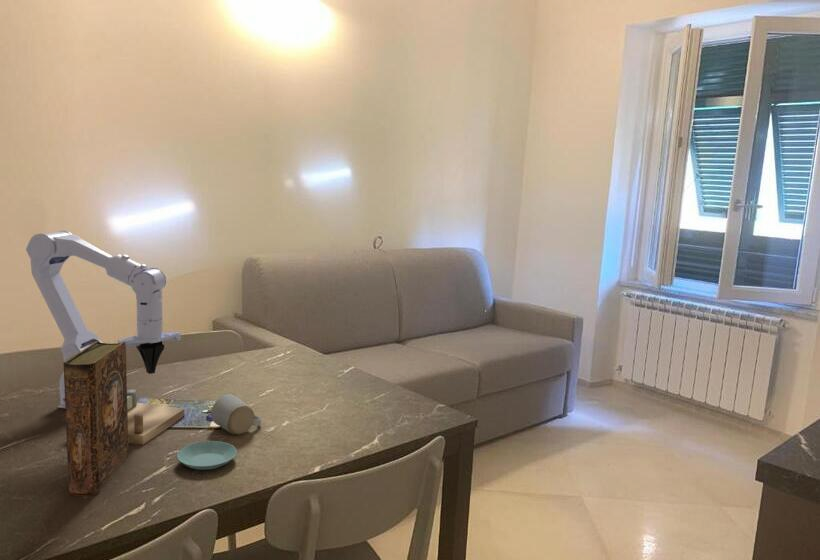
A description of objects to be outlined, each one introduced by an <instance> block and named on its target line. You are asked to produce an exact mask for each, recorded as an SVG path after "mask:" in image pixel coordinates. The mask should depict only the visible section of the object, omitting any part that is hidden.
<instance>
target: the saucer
mask: <svg viewBox="0 0 820 560" xmlns="http://www.w3.org/2000/svg"><path fill="white" fill-rule="evenodd" d="M237 453H238V450H237V448H236V447H235V446H234V445H233V444H231V443H228V442H223V441H217V440H216V441H215V440H208V441H207V440H206V441H198V442H193V443H191V444H188V445H186V446H184V447H181V449H180V450H179V451H178V452H177V454H176V458H177V460H178V461H179V462H180V463H182V464H183V465H184V466H186V467H188V468H191V469H194V470H198V471H209V470H216V469H217V468H220V467H223V466H224V465H227V464H228V463H229V462H231V461H232V460H233V459H234V458H235V457H236V456H237Z"/></svg>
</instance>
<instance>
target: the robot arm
mask: <svg viewBox="0 0 820 560" xmlns="http://www.w3.org/2000/svg"><path fill="white" fill-rule="evenodd" d="M25 251H26V253H27V255H28V257H29V258H30V268H31V269H30V270H31V275H32V277H33V279H34V281H35V283H36V285H37V288H38V289H39V291H40V293H41V295H42V298H43V299H44V300H45V304H46V305H47V307H48V310H49V311H50V313H51V316H52V317H53V319H54V321H55V323H56V326H57V327H58V329H59V331H60V333H61V334H62V337H63V342H62V344H61V348H60V352H61V354H62V356H63V363H64V362H65V361H66V360H68V359H69V358H71V357H72V356H74V355H76V354H77V353H79V352H80V351H82V350H83V349H85V348H86V347H88V346H90V345H91V344H93V343H94V342H96V341H99V342H100V343H103V341H101V339H100V338H99V336H98V334H96V333H94V332H93V331H90V330H89V329H88V327H87V326H86V323H85V322H84V320H83V317H82V315H81V314H80V312H79V310H78V309H79V308H77V306H76V304H75V301H74V300H73V298H72V295H71V293H70V291H69V289H68V287H67V285H66V283H65V282H64V279H63V278H62V275H61V273H60V272H61V270H62V267H63V265H64V264H65V263H66V262H67V260H68V259H70V257H74V256H75V257H77V258H79V259H83V260H85V261H87V262H89V263H92V264H94V265H96V266H99V267H101V268H104V269H105V271H106V275H107V276H109V277H110V278H113V279H115V280H117V281H119V282H121V283H124V284H125V285H128V286H129V287H131V289H132V291H133V292H134V293H135V300H136V331H137V332H136V334H137V335H132V336H129V337H125V338H119V339H117V343H122V342H125V344H126V349H127V348H132V347H136V349H137V351H138V352H139V354H140V357H141V358H142V360H143V364H144V367H145V372H146V374H149V375H150V374H155V373H156V368H157V365H158V363H159V359H160V357H161V355H162V353H163V351H164V349H165V344H163V343H168V342H169V343H170V342H174V341H175V342H178V341H179V342H180V341H181V340H182V336H181V335H182V334H181V332H179V331H171V332H164V331H163V289H164V288H165V286H166V284H167V277H166V275H165V273H164V272H163V271H162V270H160V269H159V268H158V267H150V268H148V265H147V264H145V263H142V264H141V263H138V262H137V261H134V260H133V259H130V255H127V254H116V255H111V254H109V253H108V252H106V251H103V250H102V249H100V248H98V247H97V246H94V245H93V244H92V243H90V242H88V241H86V240H84V239H83V238H81V237H80V236H79V235H77V234H74V233H71V232H70V231H68V230H59V231H55V232H48V233H36V234H34V235H32V236H31V238H30V239H29V242H28V243H27V246H26V248H25ZM59 400H60V404H59V405H58V406H57V407H58V408H60V409H65V386H64V372H62V374H61V376H60V378H59Z"/></svg>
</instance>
